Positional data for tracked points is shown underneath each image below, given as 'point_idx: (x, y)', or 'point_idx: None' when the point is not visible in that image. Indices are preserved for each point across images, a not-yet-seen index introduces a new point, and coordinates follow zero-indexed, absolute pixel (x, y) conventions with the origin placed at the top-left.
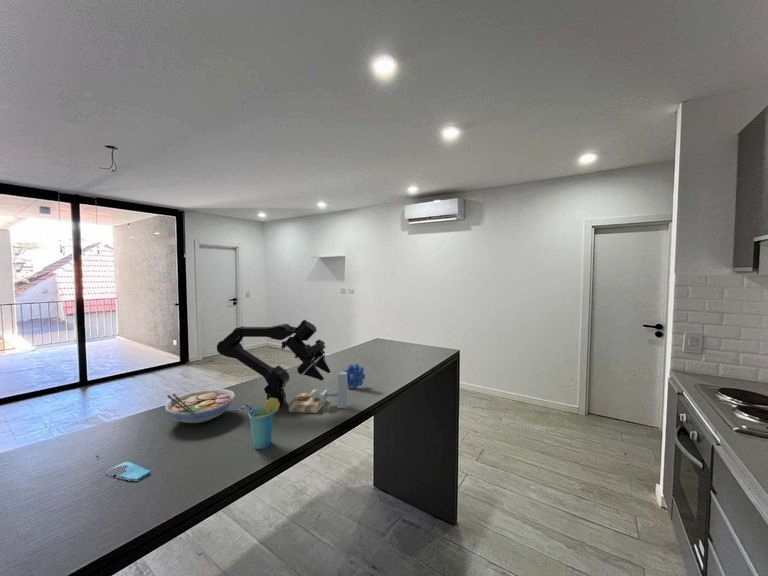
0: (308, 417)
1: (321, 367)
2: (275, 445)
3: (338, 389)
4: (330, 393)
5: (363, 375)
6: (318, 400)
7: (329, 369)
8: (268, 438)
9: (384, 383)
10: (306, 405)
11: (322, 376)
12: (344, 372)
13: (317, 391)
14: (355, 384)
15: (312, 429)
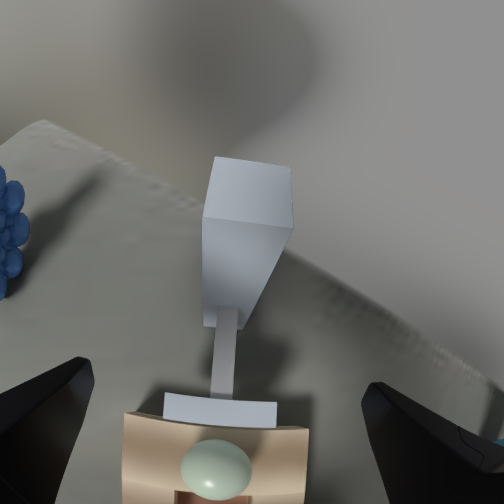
0: (341, 443)
1: (48, 478)
2: (481, 431)
3: (259, 294)
4: (225, 367)
5: (18, 186)
6: (236, 441)
7: (64, 365)
8: (500, 440)
9: (21, 172)
10: (304, 481)
11: (391, 394)
12: (222, 175)
13: (232, 459)
14: (15, 254)
15: (420, 382)
